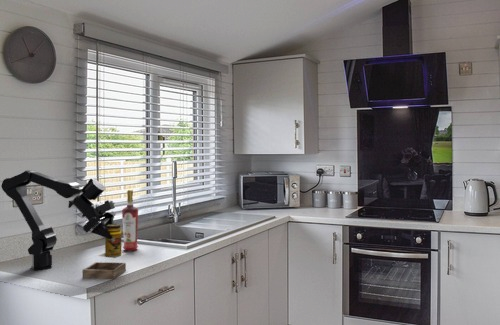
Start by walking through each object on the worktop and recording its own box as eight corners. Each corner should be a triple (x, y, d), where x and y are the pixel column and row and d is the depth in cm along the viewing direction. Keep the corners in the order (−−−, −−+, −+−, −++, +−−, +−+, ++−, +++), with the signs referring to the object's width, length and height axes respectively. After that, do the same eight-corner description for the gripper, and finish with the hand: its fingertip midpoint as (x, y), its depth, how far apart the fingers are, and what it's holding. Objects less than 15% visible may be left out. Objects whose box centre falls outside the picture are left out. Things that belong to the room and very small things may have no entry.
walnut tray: (82, 277, 165) (82, 269, 165) (96, 269, 176) (95, 262, 176) (114, 278, 164) (114, 270, 164) (125, 270, 175) (125, 262, 175)
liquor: (120, 251, 205) (119, 191, 204) (124, 248, 213) (124, 189, 212) (136, 251, 205) (135, 190, 204) (140, 248, 213) (139, 189, 212)
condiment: (115, 258, 171) (115, 227, 170) (96, 256, 173) (96, 225, 172) (126, 254, 178) (126, 223, 177) (107, 252, 180) (107, 222, 179)
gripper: (91, 196, 165) (120, 227, 165) (110, 191, 183) (137, 218, 183) (70, 217, 166) (99, 247, 165) (92, 210, 184) (118, 237, 184)
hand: (114, 236), depth 174 cm, fingers closed on condiment, 6 cm apart
